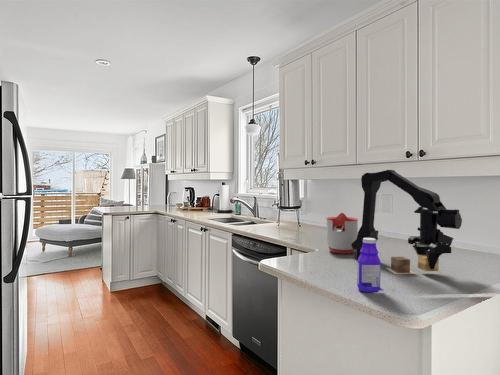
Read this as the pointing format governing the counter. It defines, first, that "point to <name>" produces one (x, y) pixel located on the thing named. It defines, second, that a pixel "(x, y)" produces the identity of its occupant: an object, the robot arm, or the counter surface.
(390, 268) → the board
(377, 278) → the bottle
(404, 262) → the walnut block
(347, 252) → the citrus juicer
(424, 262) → the ochre block
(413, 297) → the counter surface
